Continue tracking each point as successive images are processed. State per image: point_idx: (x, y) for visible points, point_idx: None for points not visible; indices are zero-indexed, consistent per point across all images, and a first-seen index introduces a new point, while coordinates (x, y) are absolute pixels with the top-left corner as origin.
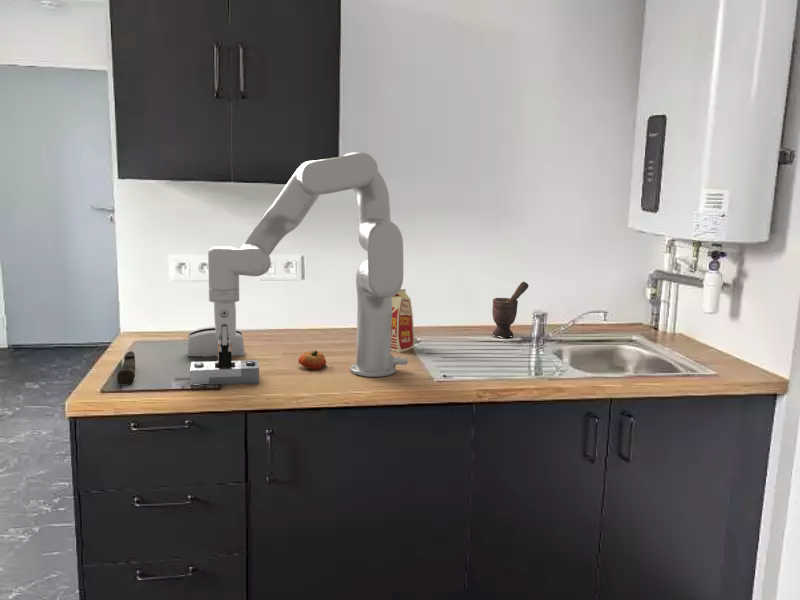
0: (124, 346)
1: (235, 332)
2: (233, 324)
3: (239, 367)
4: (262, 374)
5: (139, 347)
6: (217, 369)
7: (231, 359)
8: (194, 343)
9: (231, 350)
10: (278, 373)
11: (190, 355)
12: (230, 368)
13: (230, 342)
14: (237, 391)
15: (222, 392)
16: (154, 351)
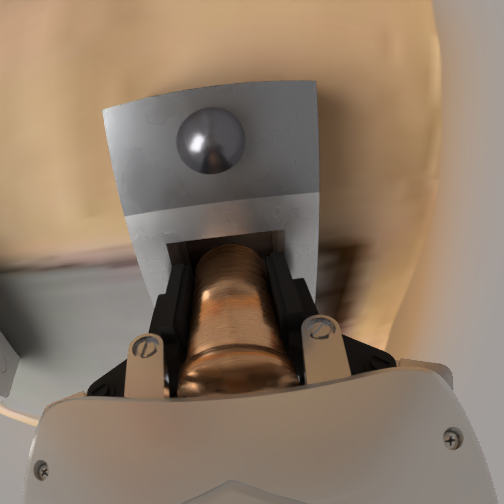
0: (32, 421)
1: (463, 427)
2: (496, 499)
3: (292, 203)
4: (131, 84)
5: (23, 409)
6: (314, 303)
7: (290, 274)
8: (2, 376)
9: (235, 315)
10: (118, 17)
11: (15, 355)
12: (306, 250)
13: (214, 372)
14: (394, 181)
15: (391, 233)
16: (26, 398)
